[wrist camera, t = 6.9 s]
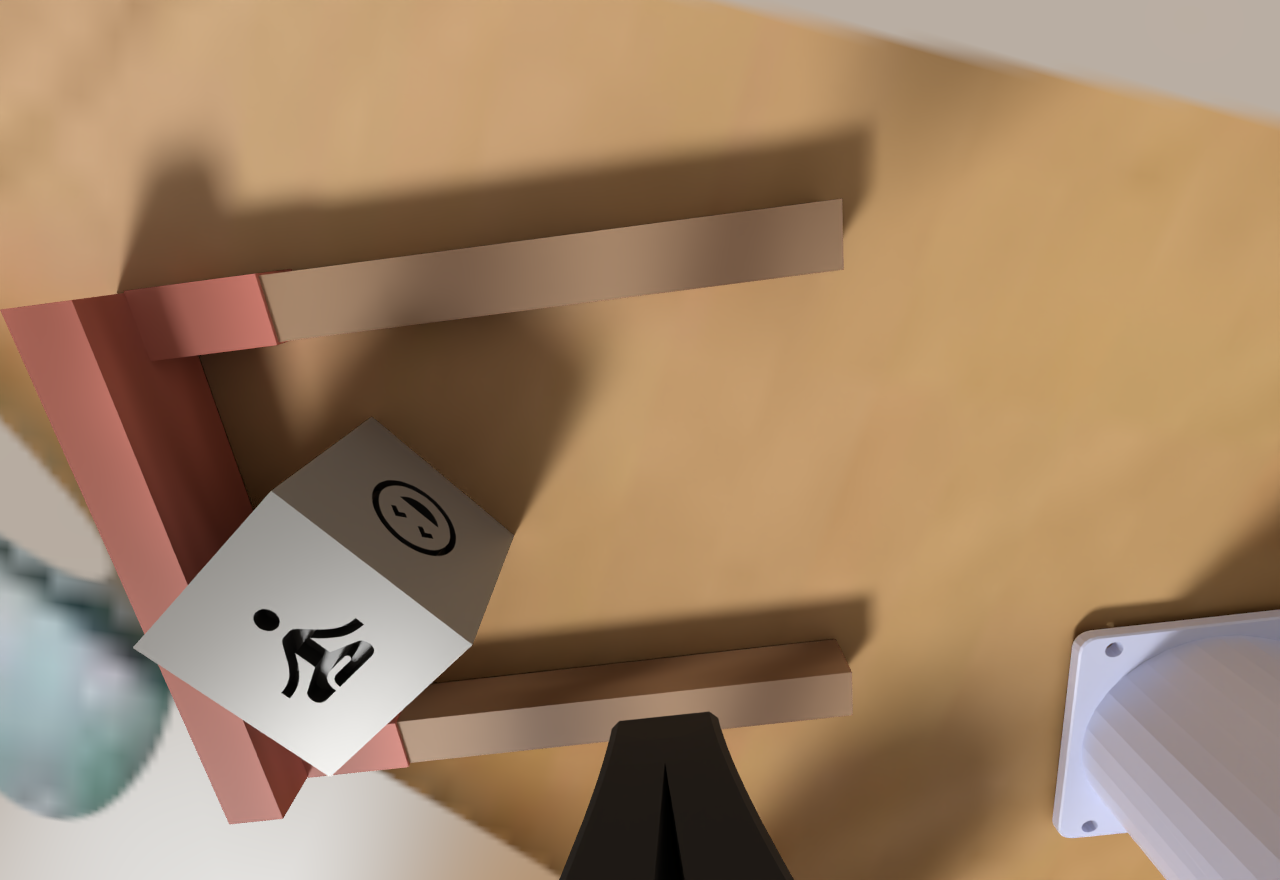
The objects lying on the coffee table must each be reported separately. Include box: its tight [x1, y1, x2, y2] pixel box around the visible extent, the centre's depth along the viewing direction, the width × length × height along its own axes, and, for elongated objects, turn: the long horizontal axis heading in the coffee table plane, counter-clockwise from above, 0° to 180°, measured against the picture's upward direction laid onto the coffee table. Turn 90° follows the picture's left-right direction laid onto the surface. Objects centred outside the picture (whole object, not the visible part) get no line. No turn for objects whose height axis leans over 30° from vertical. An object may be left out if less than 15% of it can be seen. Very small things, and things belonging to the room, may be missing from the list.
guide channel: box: [0, 199, 853, 824], centre depth 16 cm, size 18×14×3 cm
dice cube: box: [133, 417, 514, 777], centre depth 16 cm, size 5×5×5 cm
